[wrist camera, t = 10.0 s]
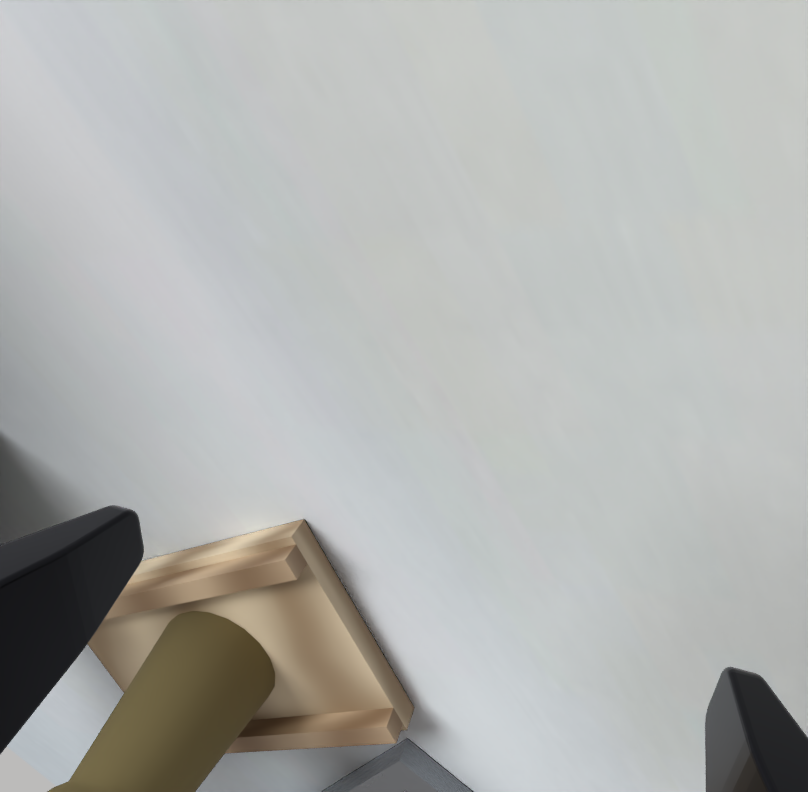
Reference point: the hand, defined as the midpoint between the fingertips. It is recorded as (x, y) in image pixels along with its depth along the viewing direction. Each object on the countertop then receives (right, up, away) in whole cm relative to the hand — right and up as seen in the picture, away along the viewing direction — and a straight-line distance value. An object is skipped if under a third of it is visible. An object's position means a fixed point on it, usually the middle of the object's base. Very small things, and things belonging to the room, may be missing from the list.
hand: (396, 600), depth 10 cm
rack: (-9, -9, +23) cm, 26 cm away
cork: (-9, -10, +22) cm, 25 cm away
